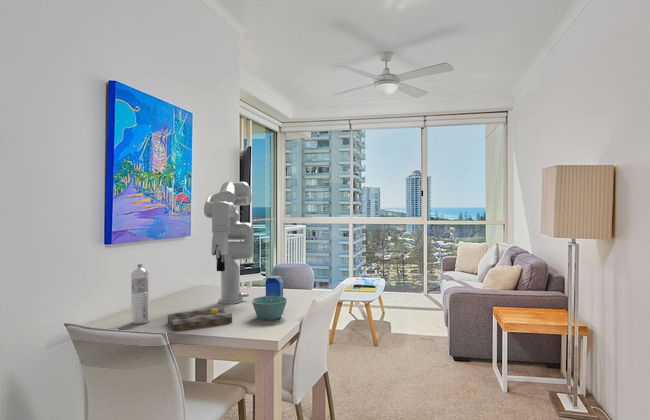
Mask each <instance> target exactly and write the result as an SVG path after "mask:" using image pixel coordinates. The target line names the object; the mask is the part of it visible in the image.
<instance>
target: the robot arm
mask: <svg viewBox="0 0 650 420" xmlns="http://www.w3.org/2000/svg"><path fill="white" fill-rule="evenodd" d="M252 200H253V198H252V191H251V187H250V185H249V183H248V182H246V181H225V182H224V183H222V185H221V186H220V190H219V192H217V193H214V194H213V195H209V196H208V197H207V199H206V201H205V203H204V205H203V213H204V216H205V218H207V219H211V233H212V240H211V255H212V256H215V259H216V272H220V285H221V286H220V298H219V299H218V300H217V301H218V304H222V305H234V304H235V305H236V304H239V303H240V304H241V303H242V302H243V301H244V300H243V298H244V297H245V298H248V297H249V295H250V294H249V293H248V292H241V291H240V287H241V284H240V280H241V279H240V272H241V271H240V270H241V269H240V266H239V263H237V262H236V261H237V260H240V261H241V260H242V261H243V260H244V261H245V260H251V259H252V258H253V256H254V227H253V224H251V223H250V222H241V220H240V219H241V215H240V212H239V211H238V210H237V207H236V206H250V205H251V203H252ZM235 260H236V261H235Z"/></svg>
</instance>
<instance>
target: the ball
mask: <svg viewBox="0 0 650 420" xmlns="http://www.w3.org/2000/svg"><path fill="white" fill-rule="evenodd" d="M216 308H217V307H212V308H210V309H211V310H210V313H211V315H216V314H217V313H218V310H217V309H216Z"/></svg>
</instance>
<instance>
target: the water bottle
mask: <svg viewBox="0 0 650 420" xmlns="http://www.w3.org/2000/svg"><path fill="white" fill-rule="evenodd" d="M130 277H131V278H130V279H131V293H130V294H131V297H130V298H131V302H130V303H131V304H130V305H131V306H130V309H131V311H130V312H131V317H130V318H131V319H130V320H131V324H133V325H144V324H148V322H149V318H150V317H149V316H150V313H149V311H150V310H149V307H150V306H149V304H150V303H149V299H150V298H149V295H150V294H149V277H150V275H149V273H148V271H147V270H146V269H145V268H143V264H141V263H140V264H137V268H135V270H133V271H132V272H131V275H130Z"/></svg>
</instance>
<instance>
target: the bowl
mask: <svg viewBox="0 0 650 420" xmlns="http://www.w3.org/2000/svg"><path fill="white" fill-rule="evenodd" d="M287 300H288V298H286V297H284V296H283V297H281V296H266V295H265V296H258V297H255V298H253V299H251V302H252V305H253V308H254V311H255V315H256V316H257V318H259V319H260V320H262V321H274V320H278V319H280V318H281V317H282V315H283V314H284V312H285V311H284V310H285V307H286V305H287Z"/></svg>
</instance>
